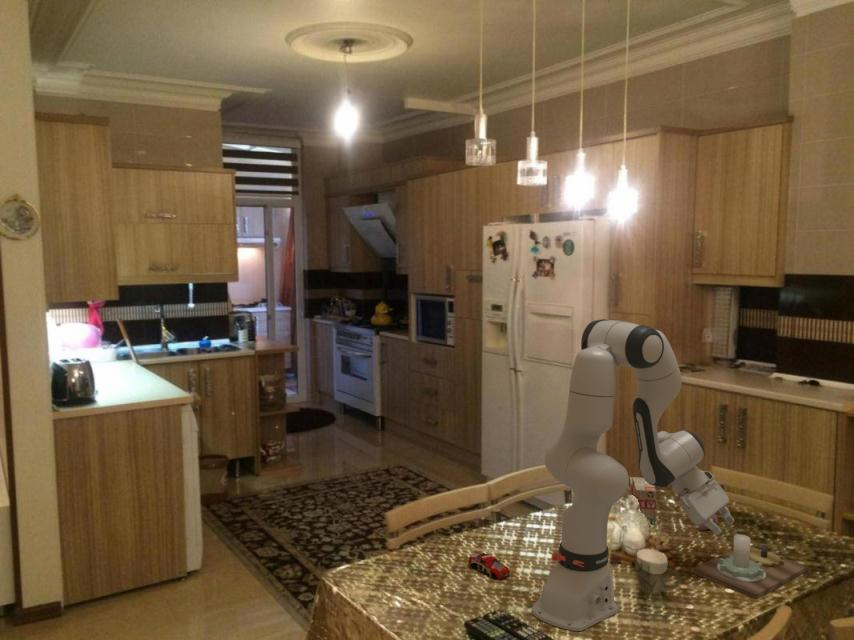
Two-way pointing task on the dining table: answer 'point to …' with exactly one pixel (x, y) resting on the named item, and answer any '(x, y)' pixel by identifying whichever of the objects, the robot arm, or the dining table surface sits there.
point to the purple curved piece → (703, 527)
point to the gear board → (773, 577)
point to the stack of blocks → (644, 496)
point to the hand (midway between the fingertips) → (726, 528)
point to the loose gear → (741, 560)
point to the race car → (489, 565)
